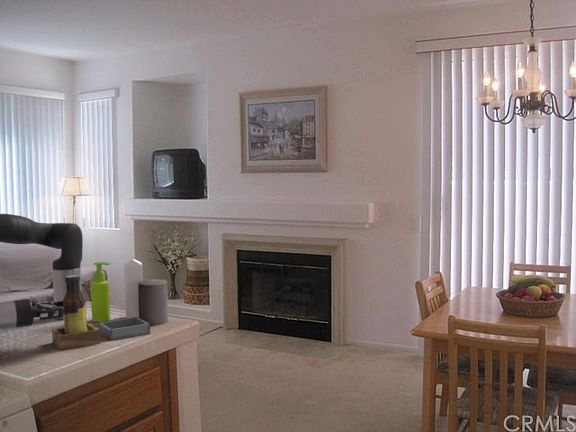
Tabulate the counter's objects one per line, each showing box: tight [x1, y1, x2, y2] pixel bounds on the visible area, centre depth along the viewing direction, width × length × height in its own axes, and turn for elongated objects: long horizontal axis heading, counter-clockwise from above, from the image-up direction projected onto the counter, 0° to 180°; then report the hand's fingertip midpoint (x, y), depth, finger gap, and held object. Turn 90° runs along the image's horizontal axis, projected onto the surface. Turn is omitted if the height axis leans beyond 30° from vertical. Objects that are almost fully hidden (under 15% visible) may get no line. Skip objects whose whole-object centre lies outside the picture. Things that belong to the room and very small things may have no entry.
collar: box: [51, 322, 101, 351], centre depth 165 cm, size 10×11×4 cm
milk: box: [123, 253, 144, 319], centre depth 196 cm, size 6×6×22 cm
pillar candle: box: [138, 277, 169, 326], centre depth 189 cm, size 10×10×15 cm
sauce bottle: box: [63, 275, 88, 335], centre depth 165 cm, size 6×6×20 cm
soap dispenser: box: [90, 261, 111, 323], centre depth 193 cm, size 6×7×20 cm
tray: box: [97, 317, 151, 341], centre depth 176 cm, size 11×12×3 cm
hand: (73, 306), depth 165 cm, fingers open, 8 cm apart
